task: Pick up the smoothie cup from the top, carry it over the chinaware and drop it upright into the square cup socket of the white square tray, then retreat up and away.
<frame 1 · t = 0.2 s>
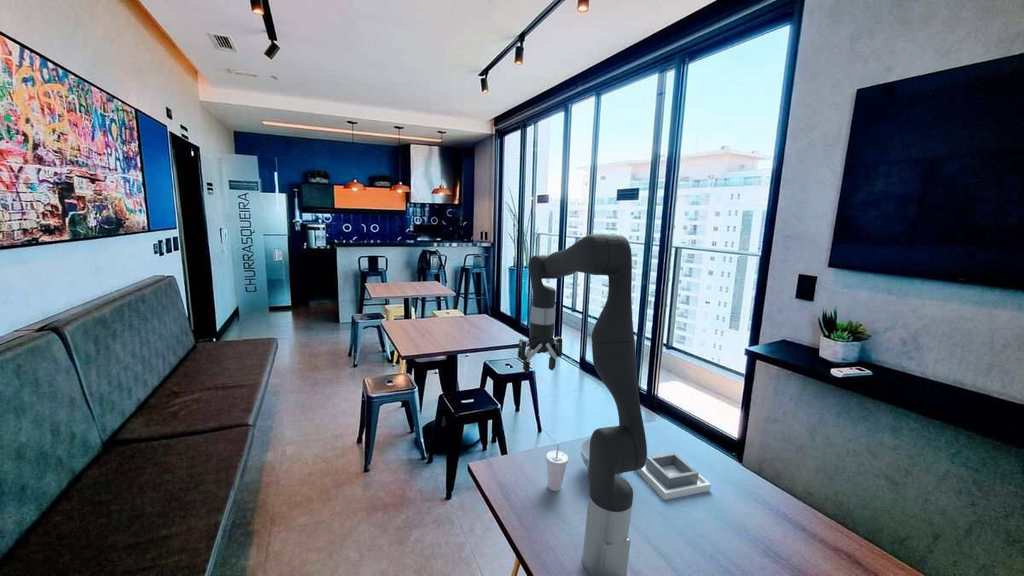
hand: (539, 370, 126), 29 cm above the table, tool pointing down, fingers open, 8 cm apart
chinaware: (603, 474, 124), on the table
smoothie: (554, 487, 117), on the table
white square tray: (670, 478, 123), on the table
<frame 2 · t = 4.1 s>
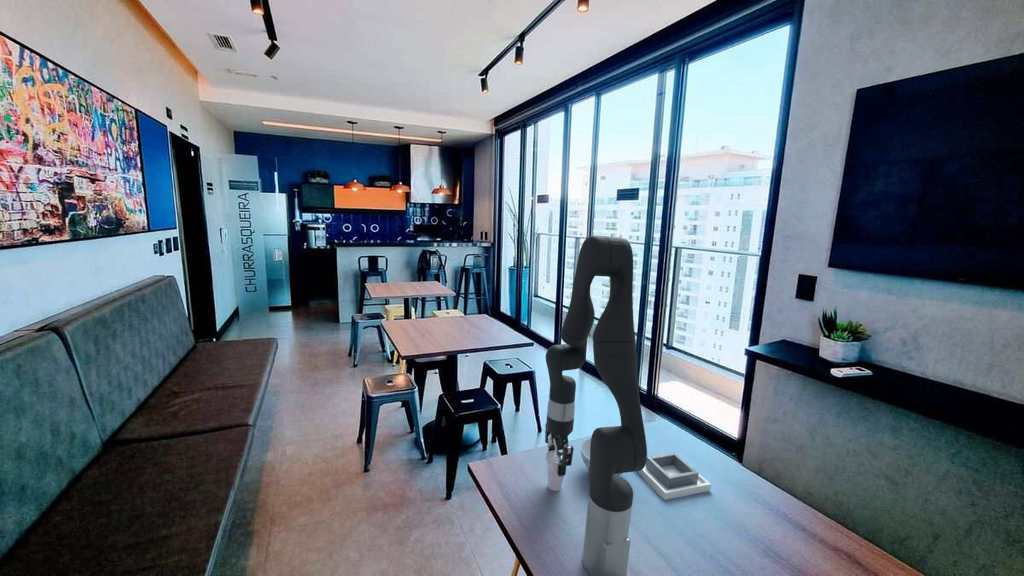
hand: (556, 467, 115), 6 cm above the table, tool pointing down, fingers closed on smoothie, 6 cm apart
smoothie: (554, 487, 117), on the table, touching gripper
everything else where it was.
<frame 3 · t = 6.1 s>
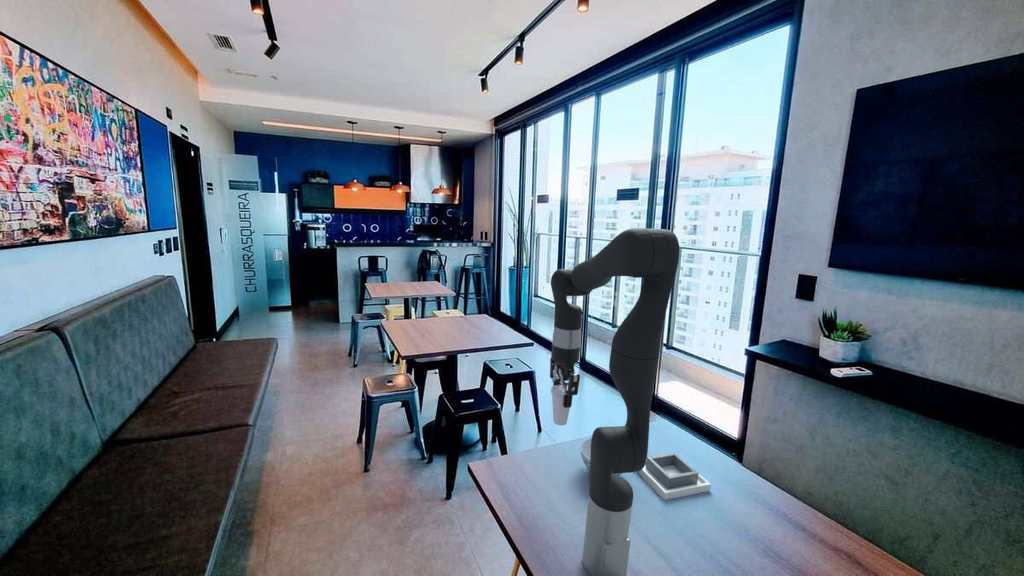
hand: (561, 401, 112), 27 cm above the table, tool pointing down, fingers closed on smoothie, 6 cm apart
smoothie: (560, 422, 113), point 20 cm above the table, touching gripper
everything else where it was.
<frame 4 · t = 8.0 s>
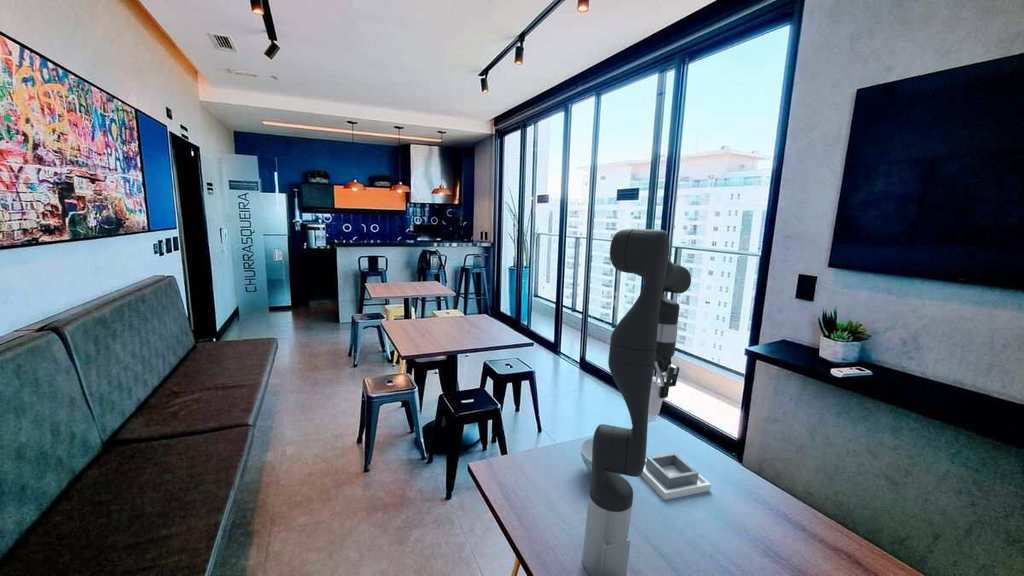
hand: (654, 392, 117), 28 cm above the table, tool pointing down, fingers closed on smoothie, 6 cm apart
smoothie: (652, 412, 118), point 22 cm above the table, touching gripper
everything else where it was.
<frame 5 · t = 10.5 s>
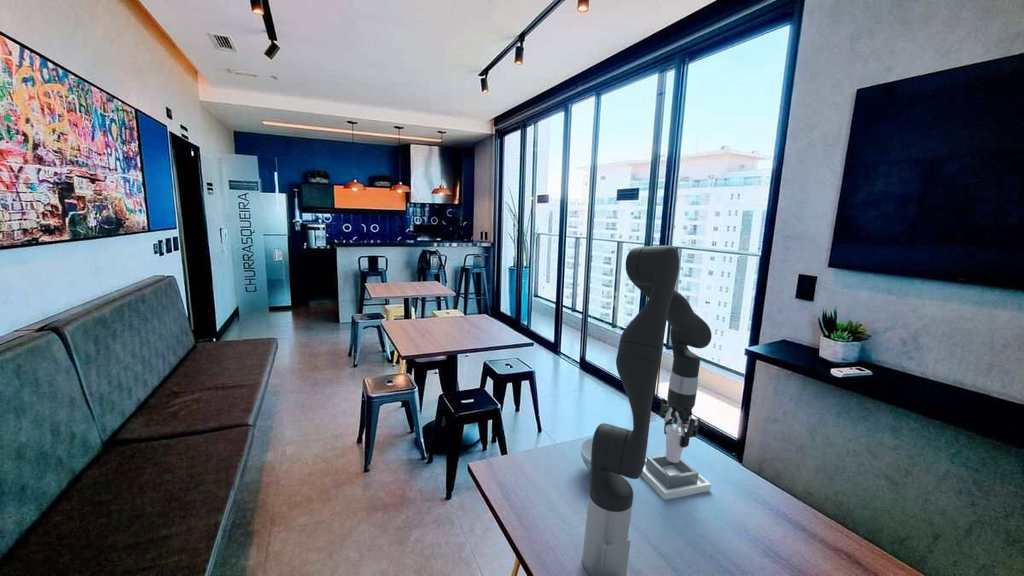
hand: (675, 440, 121), 13 cm above the table, tool pointing down, fingers closed on smoothie, 6 cm apart
smoothie: (672, 459, 122), point 6 cm above the table, touching gripper
everything else where it was.
when the fingers open (9 cm above the table, at t = 12.4 s): smoothie drops 1 cm, resting on white square tray.
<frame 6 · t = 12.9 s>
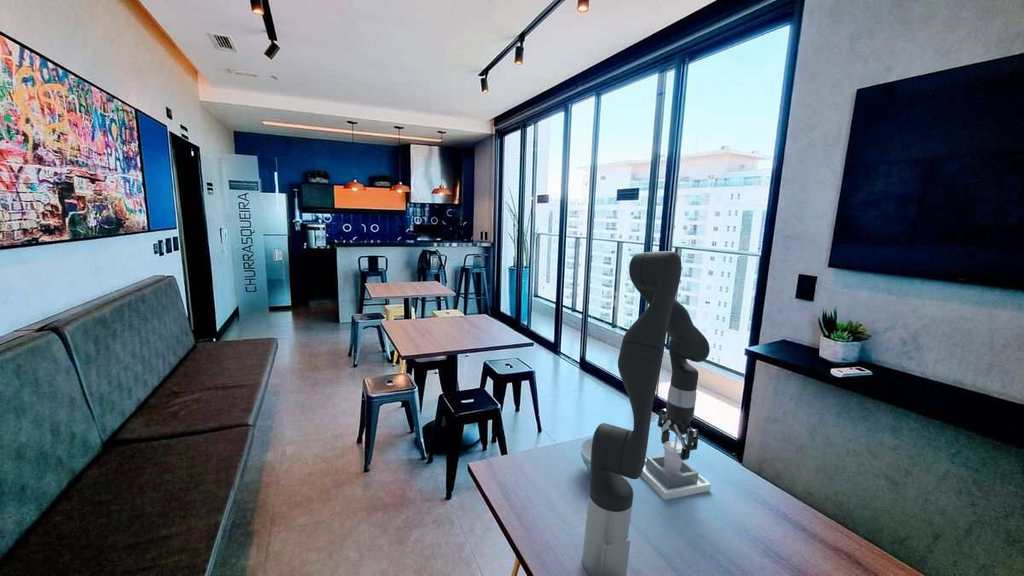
hand: (674, 451, 121), 9 cm above the table, tool pointing down, fingers open, 8 cm apart
smoothie: (670, 476, 123), point 1 cm above the table, touching white square tray
everything else where it was.
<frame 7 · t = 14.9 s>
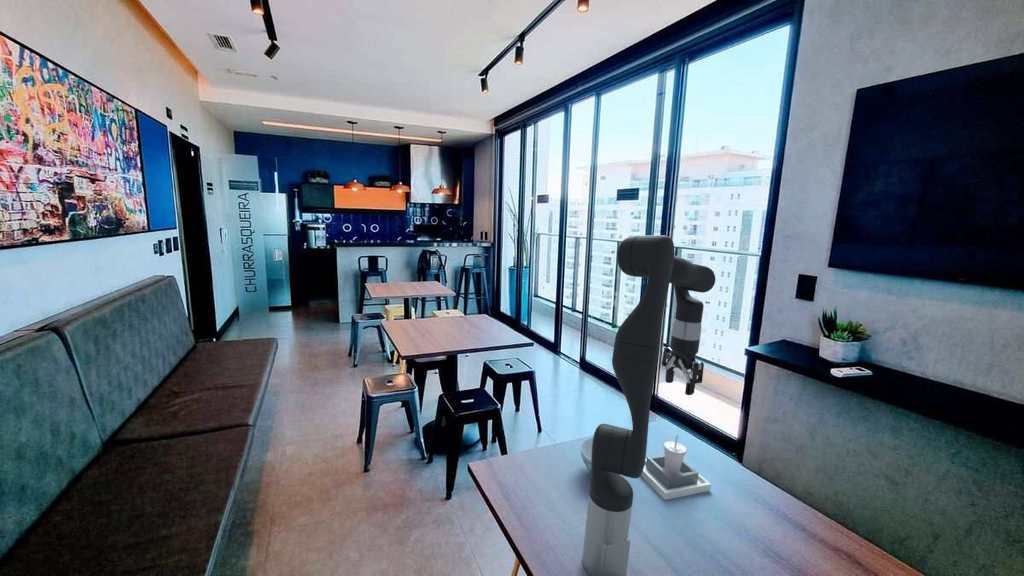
hand: (678, 388, 119), 29 cm above the table, tool pointing down, fingers open, 8 cm apart
nothing on the table moved.
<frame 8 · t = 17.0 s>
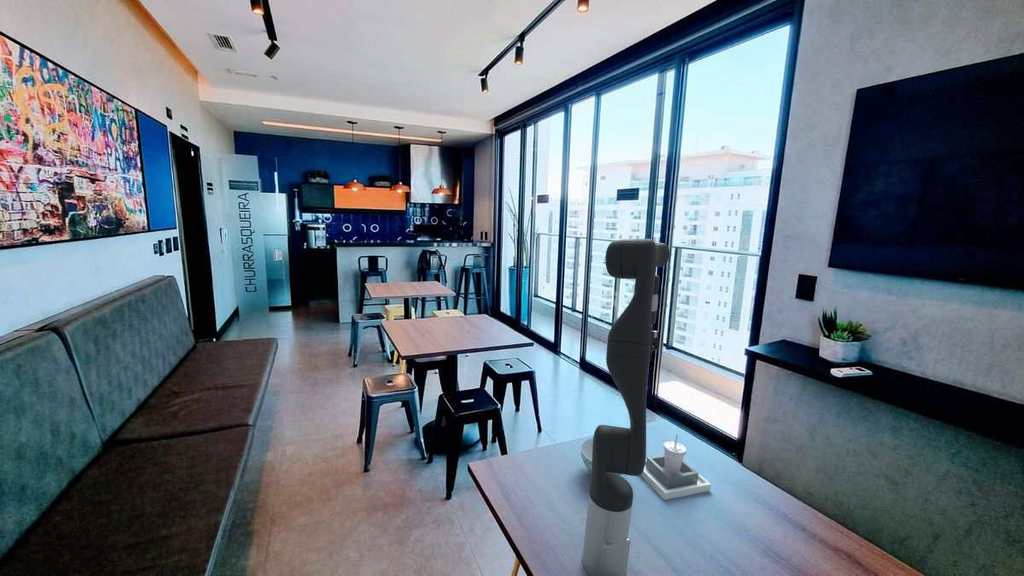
hand: (638, 357, 128), 34 cm above the table, tool pointing down, fingers open, 8 cm apart
nothing on the table moved.
at the end: smoothie 0.3 cm off-centre on the white square tray, point 1.0 cm above the white square tray's base; smoothie tilted 0°; the gripper is holding nothing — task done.
